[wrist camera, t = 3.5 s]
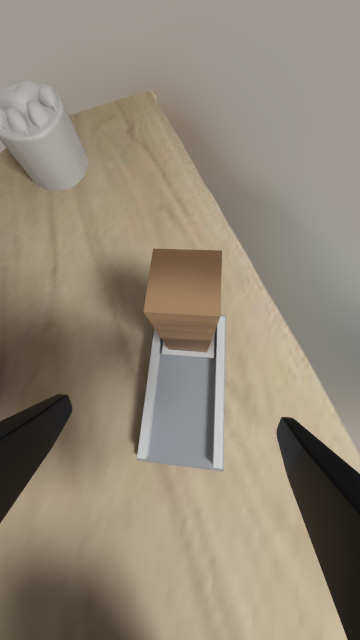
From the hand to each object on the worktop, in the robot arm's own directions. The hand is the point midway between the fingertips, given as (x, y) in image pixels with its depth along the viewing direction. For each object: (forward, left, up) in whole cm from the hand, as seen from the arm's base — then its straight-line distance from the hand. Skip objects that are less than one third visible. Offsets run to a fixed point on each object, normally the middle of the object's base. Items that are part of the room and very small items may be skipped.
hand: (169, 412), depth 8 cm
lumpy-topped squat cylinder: (+42, +10, -13) cm, 45 cm away
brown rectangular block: (+6, -3, -13) cm, 15 cm away
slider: (+1, -1, -13) cm, 13 cm away
